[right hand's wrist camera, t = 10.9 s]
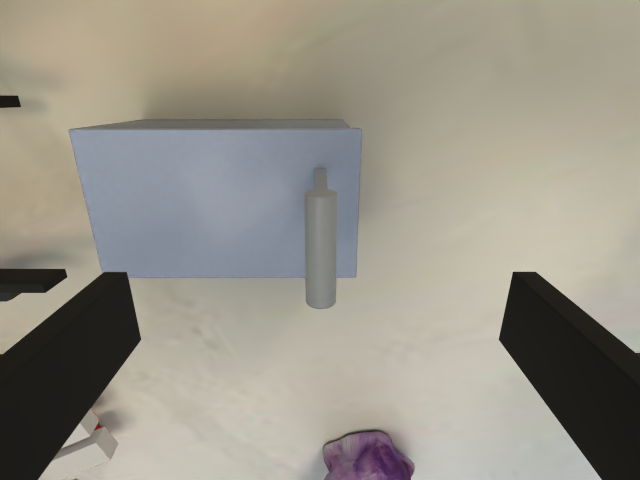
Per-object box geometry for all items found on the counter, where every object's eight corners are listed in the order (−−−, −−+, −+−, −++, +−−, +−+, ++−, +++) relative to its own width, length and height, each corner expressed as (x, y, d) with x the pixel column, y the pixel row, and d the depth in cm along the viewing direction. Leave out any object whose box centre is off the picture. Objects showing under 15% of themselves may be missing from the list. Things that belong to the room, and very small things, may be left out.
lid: (360, 127, 23) (382, 144, 15) (354, 271, 27) (370, 346, 19) (78, 127, 23) (-51, 144, 15) (111, 271, 27) (21, 346, 19)
